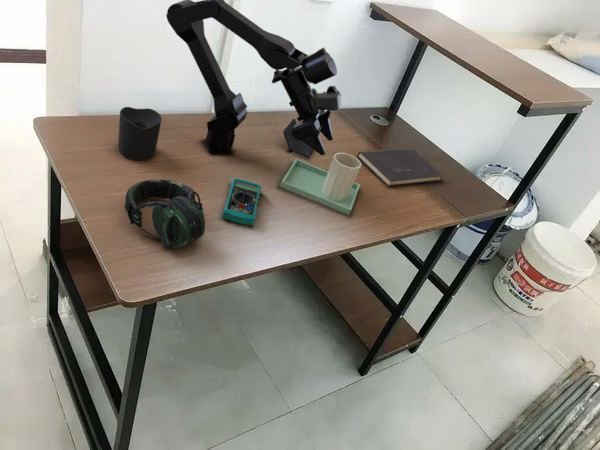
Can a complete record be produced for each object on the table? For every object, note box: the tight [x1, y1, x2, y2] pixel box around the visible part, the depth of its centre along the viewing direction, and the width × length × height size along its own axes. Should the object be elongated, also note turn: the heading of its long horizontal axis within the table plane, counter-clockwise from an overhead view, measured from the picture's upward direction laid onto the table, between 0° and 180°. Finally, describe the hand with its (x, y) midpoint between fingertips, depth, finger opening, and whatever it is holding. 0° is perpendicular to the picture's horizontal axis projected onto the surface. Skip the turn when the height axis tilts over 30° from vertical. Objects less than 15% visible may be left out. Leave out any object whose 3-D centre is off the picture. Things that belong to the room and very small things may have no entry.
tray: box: [279, 158, 361, 216], centre depth 138 cm, size 19×14×2 cm
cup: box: [321, 152, 362, 202], centre depth 135 cm, size 7×7×10 cm
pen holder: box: [117, 106, 163, 161], centre depth 124 cm, size 9×9×10 cm
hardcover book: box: [357, 148, 444, 188], centre depth 161 cm, size 16×23×2 cm
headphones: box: [124, 178, 206, 249], centre depth 107 cm, size 13×13×20 cm
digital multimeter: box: [221, 177, 262, 226], centre depth 121 cm, size 7×15×3 cm, turn 177°
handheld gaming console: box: [282, 118, 314, 159], centre depth 152 cm, size 12×7×10 cm
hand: (327, 147), depth 131 cm, fingers open, 9 cm apart
